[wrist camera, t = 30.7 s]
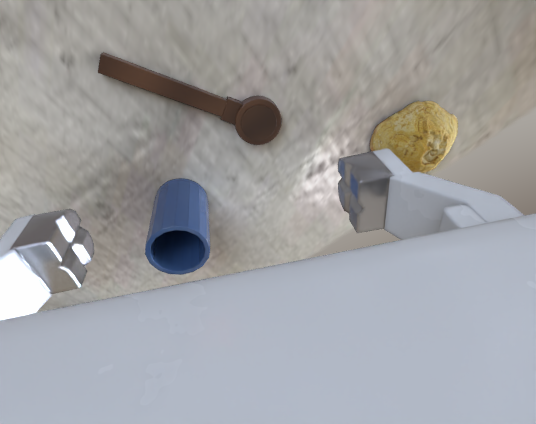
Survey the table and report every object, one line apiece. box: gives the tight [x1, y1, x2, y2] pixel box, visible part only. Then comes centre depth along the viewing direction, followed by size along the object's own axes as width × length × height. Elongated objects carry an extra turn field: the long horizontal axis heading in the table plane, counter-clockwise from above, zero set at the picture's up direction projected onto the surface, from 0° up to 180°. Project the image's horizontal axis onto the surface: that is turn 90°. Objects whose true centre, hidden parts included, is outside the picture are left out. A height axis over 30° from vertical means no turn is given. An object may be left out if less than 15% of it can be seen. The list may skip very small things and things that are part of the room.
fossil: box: [370, 101, 458, 173], centre depth 42 cm, size 11×6×10 cm
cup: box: [145, 179, 210, 275], centre depth 39 cm, size 6×6×10 cm
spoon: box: [98, 52, 282, 145], centre depth 35 cm, size 19×5×2 cm, turn 67°
